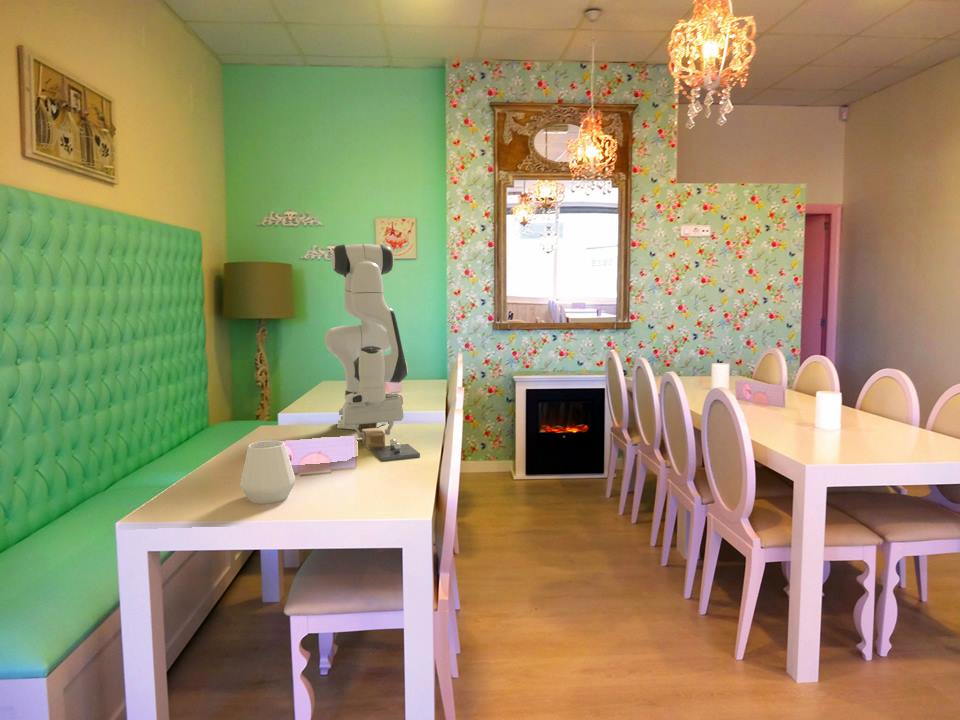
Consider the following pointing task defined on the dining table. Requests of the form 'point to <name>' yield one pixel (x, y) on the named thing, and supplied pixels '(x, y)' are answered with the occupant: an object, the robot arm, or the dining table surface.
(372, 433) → the block
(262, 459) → the cream vase
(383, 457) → the slate base plate
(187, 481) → the dining table surface
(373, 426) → the cup
